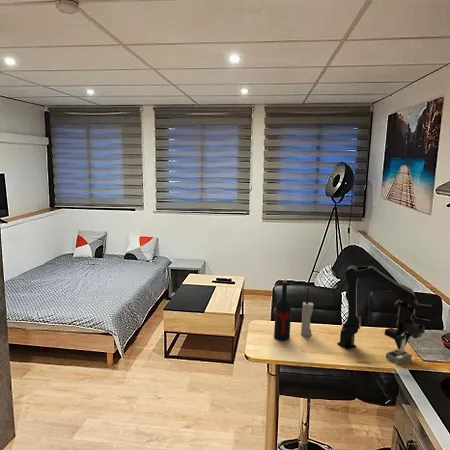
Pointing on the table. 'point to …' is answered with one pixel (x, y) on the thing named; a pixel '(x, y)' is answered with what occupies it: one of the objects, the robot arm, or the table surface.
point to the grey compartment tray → (398, 357)
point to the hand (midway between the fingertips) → (401, 347)
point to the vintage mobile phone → (306, 317)
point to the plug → (402, 346)
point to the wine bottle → (282, 316)
